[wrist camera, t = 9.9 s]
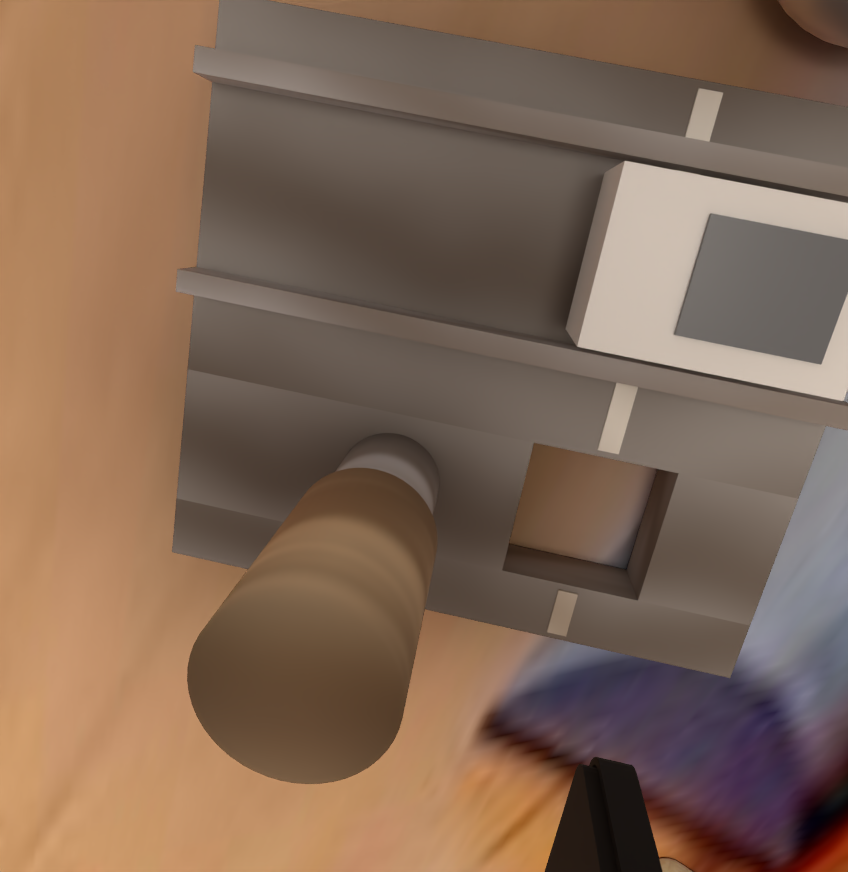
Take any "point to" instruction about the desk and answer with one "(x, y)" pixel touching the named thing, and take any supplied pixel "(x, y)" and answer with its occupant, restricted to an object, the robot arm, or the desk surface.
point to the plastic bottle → (821, 18)
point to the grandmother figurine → (672, 866)
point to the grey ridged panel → (477, 315)
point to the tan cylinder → (325, 622)
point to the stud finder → (717, 279)
